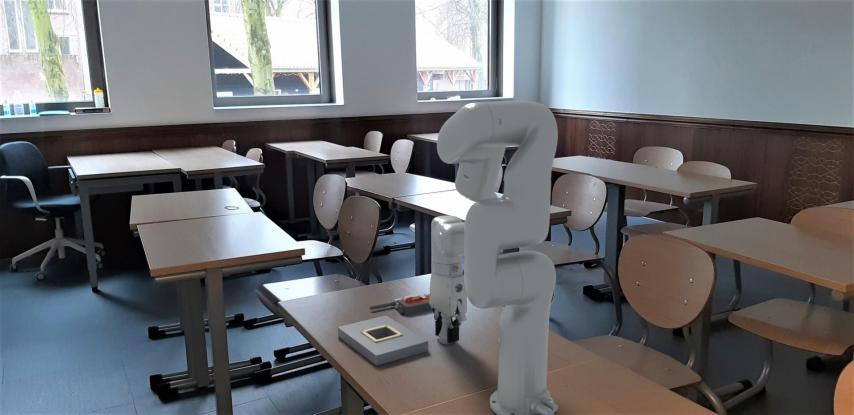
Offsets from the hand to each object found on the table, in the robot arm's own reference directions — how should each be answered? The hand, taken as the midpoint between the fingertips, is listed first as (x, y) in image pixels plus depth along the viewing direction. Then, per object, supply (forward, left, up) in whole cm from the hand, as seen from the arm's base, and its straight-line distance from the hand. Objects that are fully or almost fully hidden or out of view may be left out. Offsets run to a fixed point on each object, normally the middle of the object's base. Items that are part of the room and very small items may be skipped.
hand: (447, 337), depth 157 cm
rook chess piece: (0, 0, -1) cm, 1 cm away
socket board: (+8, +14, -1) cm, 16 cm away
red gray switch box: (+24, -3, -2) cm, 25 cm away
